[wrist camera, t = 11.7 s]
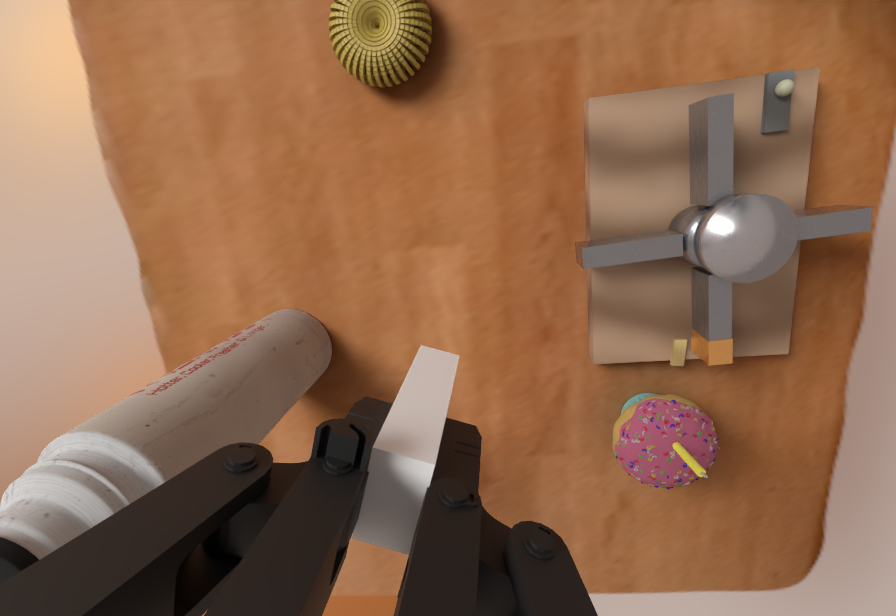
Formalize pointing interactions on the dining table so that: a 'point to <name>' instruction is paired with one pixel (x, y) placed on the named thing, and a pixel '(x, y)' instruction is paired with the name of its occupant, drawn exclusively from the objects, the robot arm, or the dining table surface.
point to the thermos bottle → (161, 434)
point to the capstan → (723, 231)
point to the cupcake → (664, 440)
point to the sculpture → (380, 38)
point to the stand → (668, 192)
